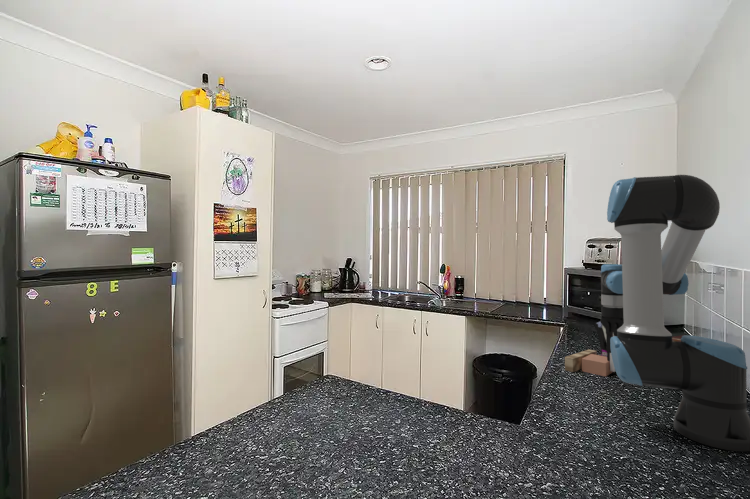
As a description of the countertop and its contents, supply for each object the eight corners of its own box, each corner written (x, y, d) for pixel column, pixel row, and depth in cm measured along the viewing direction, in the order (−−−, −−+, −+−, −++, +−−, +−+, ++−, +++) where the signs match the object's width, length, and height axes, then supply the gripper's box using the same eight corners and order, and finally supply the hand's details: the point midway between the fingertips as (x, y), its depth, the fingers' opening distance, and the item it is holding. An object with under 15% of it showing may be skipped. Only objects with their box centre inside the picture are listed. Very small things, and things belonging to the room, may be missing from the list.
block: (605, 377, 135) (605, 363, 135) (581, 371, 141) (581, 358, 141) (614, 371, 141) (614, 358, 141) (591, 366, 147) (591, 353, 147)
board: (572, 372, 139) (572, 358, 140) (564, 370, 142) (564, 357, 142) (596, 363, 151) (596, 350, 151) (588, 361, 153) (588, 349, 153)
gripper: (637, 307, 134) (638, 373, 134) (598, 303, 145) (599, 364, 144) (629, 309, 130) (629, 377, 129) (589, 305, 140) (590, 368, 140)
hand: (613, 370), depth 137 cm, fingers closed
